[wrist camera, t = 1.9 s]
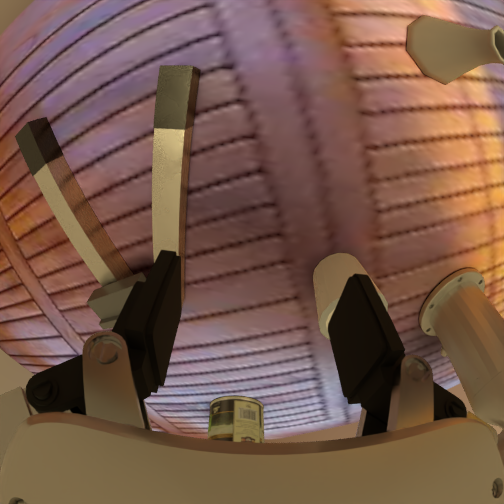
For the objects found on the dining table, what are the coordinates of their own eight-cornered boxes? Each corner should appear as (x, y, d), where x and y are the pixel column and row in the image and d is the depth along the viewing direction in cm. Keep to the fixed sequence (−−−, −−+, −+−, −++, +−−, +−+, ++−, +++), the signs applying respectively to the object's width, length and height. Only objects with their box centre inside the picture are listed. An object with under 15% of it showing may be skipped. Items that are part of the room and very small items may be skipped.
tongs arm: (184, 298, 31) (179, 317, 28) (164, 295, 31) (157, 314, 28) (200, 69, 18) (192, 65, 16) (171, 69, 18) (159, 65, 16)
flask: (394, 51, 17) (463, 40, 8) (417, 4, 13) (481, -15, 5) (446, 96, 18) (518, 112, 10) (466, 50, 15) (533, 53, 6)
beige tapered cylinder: (334, 306, 32) (348, 350, 26) (294, 279, 30) (303, 326, 24) (376, 269, 29) (400, 310, 23) (339, 235, 27) (361, 277, 21)
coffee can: (212, 416, 49) (207, 476, 37) (207, 393, 43) (200, 466, 31) (262, 417, 49) (263, 478, 37) (266, 395, 43) (268, 468, 31)
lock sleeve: (163, 302, 27) (156, 320, 24) (114, 316, 28) (106, 332, 26) (141, 272, 25) (132, 290, 22) (94, 290, 26) (84, 306, 24)
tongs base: (183, 318, 33) (178, 337, 30) (155, 326, 34) (149, 343, 31) (58, 105, 19) (39, 109, 16) (33, 130, 20) (15, 136, 17)
